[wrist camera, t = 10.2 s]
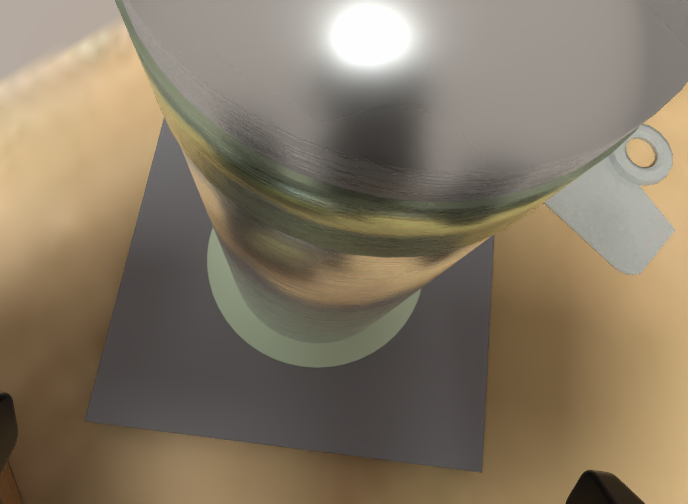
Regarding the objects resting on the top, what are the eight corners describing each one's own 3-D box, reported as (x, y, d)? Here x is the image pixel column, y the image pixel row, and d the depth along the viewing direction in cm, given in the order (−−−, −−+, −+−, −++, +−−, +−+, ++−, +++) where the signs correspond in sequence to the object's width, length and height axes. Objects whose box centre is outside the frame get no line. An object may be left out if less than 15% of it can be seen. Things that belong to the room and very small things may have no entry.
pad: (470, 468, 17) (483, 473, 16) (96, 419, 16) (83, 421, 15) (489, 142, 20) (500, 128, 19) (182, 86, 19) (175, 68, 18)
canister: (435, 246, 17) (824, -120, 5) (334, 382, 16) (533, 342, 3) (305, 147, 18) (363, -421, 5) (193, 269, 16) (-94, -139, 4)
